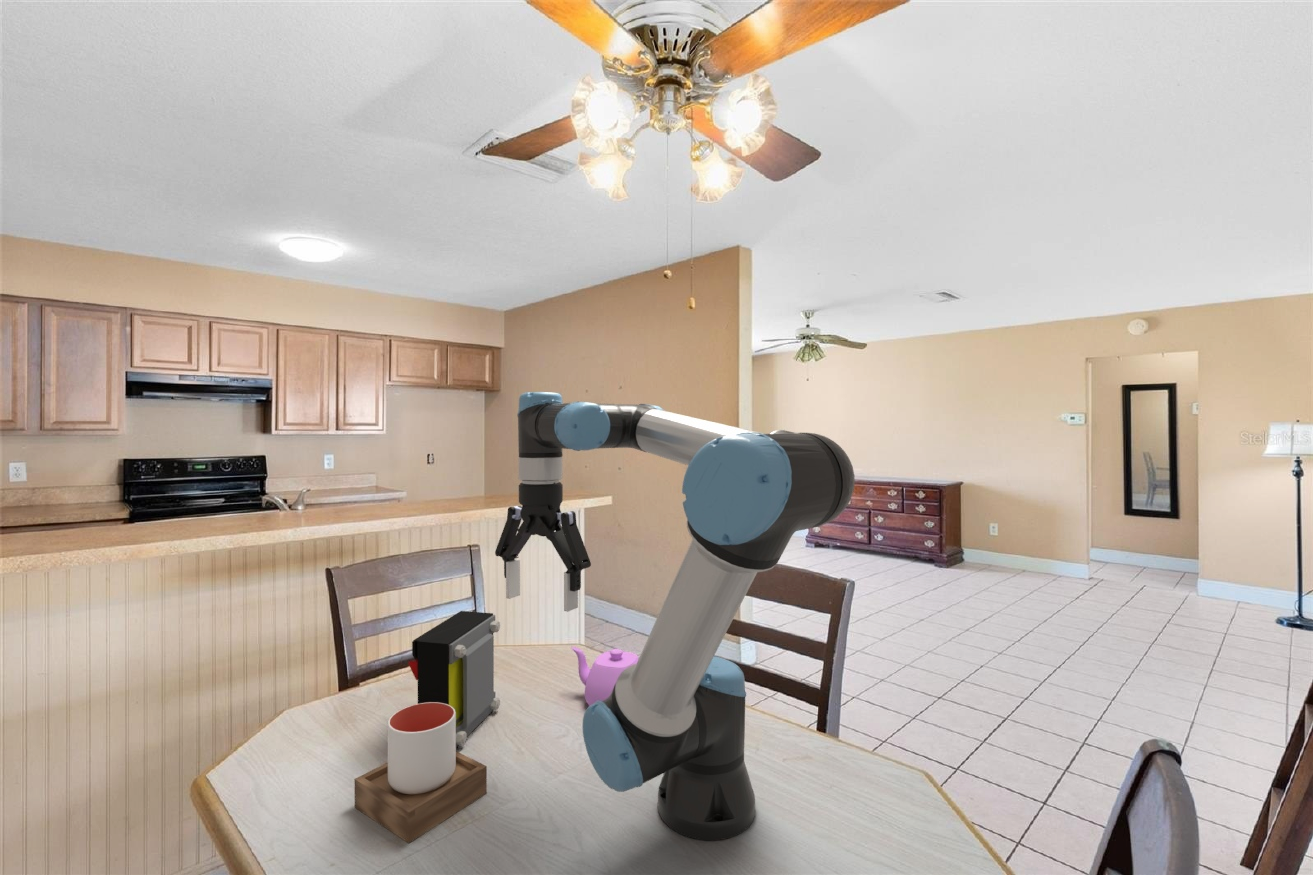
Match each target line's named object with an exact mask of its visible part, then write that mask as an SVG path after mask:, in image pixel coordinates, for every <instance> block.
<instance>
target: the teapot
mask: <svg viewBox="0 0 1313 875" xmlns="http://www.w3.org/2000/svg"><path fill="white" fill-rule="evenodd" d="M570 649H571V650H572V651H573V652H574V653H575V654H576V657H577V661H578V662H577V663H578V676H579V679H580V681H581V683H582V684H583V685H584V699H585V701H586V703H587V705H588V707H589V706H590V705H592V704H594V703H595V702H596V701H598V700H600V701H603V700H605V699H607V698H608V697H609V696H610V695H611V693H612V690H613V688H614V686H615V684H616V681H617V679H618V677H619V675H620V674H621V673H622V672H623V671H624V670H625V669H626V668H627V667H629V666H631V665H634V664H637V662H638V660H639V656H638V655H637V654H636V653H635V652H630V651H625V650H622V649H620V648H613V649H611V650H608V651H605V652H602V653H600V654H599V655H598V656H597V657H596V658H595V660H594V662H593V664H592V665H591V668H590V667H589V666H588V663H587V659H586V655H585V653H584V651H583V650H582V649H581V648H578V647H576V646H571V648H570Z"/></svg>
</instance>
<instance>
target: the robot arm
mask: <svg viewBox="0 0 1313 875" xmlns="http://www.w3.org/2000/svg"><path fill="white" fill-rule="evenodd" d="M517 425H518V426H517V429H518V431H517V433H518V436H517V438H518V440H517V442H518V480H519V481H521V483H519V484H518V503H519V504H520V505H514V506H509V507H508V508H507V513H506V514H507V518H506V521H505V524H504V526H503V529H502V532H501V533H500V534H501V535H500V537H499V541H498V543H497V545H496V548H495V552H494V554H495V556H496V557H500V558H502V561H503V563H504V564H503V569H504V570H503V572H504V573H503V576H504V578H505V589H506V590H505V594H506V595H505V597H506V598H505V599H510V600H511V599H513V598H517V597H519V596H521V559H518V558H519V554H520V553H521V552H522V550H523V548H525V546H526V544H527V542H528V541H529V539H530V538H531V536H536V535H538V536H539V537H546V539H547V540H549V541H550V543H551V544H552V546H553V548H554V549H555V551H556V552H557V554H558V556H559V557H560V559H561V561H562V563H563V565H564V566H565V568H566V571H564V572H563V612H566V613H567V612H570V611H573V610H576V609H578V608H579V590H581V587H582V582H581V580H582V574H581V573H582V571H583V570H585V569H587V568H590V567H591V566H592V563H591V560H590V557H589V554H588V552H587V549H586V546H585V543H584V541H583V539H582V538H583V537H582V535H581V532H580V530H579V528H578V524H577V514H576V512H575V511H574V510H571V511H566V512H562V511H561V505H562V503H563V500H564V498H563V496H564V494H563V492H564V491H563V484H562V482H561V481H560V480H562V479H563V449H564V450H573V451H574V452H575V451H577V452H579V451H590V450H591V451H592V450H596V449H598V450H599V449H615V448H619V449H623V448H625V449H626V448H629V449H635V450H638V451H641V452H644V453H647V454H651V455H654V456H656V457H657V456H658V457H660V458H664V459H667V460H670V461H673V462H676V463H680V464H683V465H686V466H687V468H686V471H685V474H684V477H683V481H682V488H681V493H682V494H683V495H684V496H685V500H683V501H682V506H683V511H684V514H685V516H686V519H687V520H686V528H687V531H688V533H689V536H690V537H691V541H690V543H689V546H688V548H687V550H686V553H685V554H684V557H683V559H682V561H681V564H680V566H679V568H678V570H677V573H676V574H675V577H674V579H673V582H672V584H671V586H670V587H669V588H670V589H669V590H668V593H667V595H666V597H665V600H664V601H663V604H662V606H661V609H659V610H660V611H659V613H658V616H657V617H656V620H655V621H654V624H653V626H652V628H651V631H650V633H649V634H648V637H647V640H646V642H645V644H644V645H643V646H644V647H643V649H642V651H641V653H640V656H638V658H639V660H638V662H637V664H634V665H631V666H629V667H627V668H626V669H625V670H624V671H623V672H622V673H621V674H620V675H619V677H618V679H617V681H616V684H615V686H614V688H613V690H612V693H611V695H610V696H609V697H608V698H607V699H605V700H603V701H600V700H598V701H596V702H595V703H594V704H592V705H590V706H589V705H588V707H587V708H586V709H585V712H584V714H583V718H582V738H583V743H584V746H585V750H586V753H587V757H588V758H589V761H590V763H591V765H592V767H593V769H594V771H595V773H596V774H597V776H598V777H599V778H600V780H601V781H602V782H603V783H604V785H606V786H607V787H608V788H610V789H612V790H614V791H615V792H619V793H624V792H627V791H630V790H632V789H636V788H640V787H642V786H643V784H645V783H647V782H649V781H650V780H653V779H655V778H657V777H659V776H660V775H661V776H662V777H661V781H660V783H659V787H658V791H657V811H658V814H659V816H660V818H661V820H662V821H663V822H664V823H665V824H666V825H667V826H668V827H669V828H670V829H672V830H673V831H674V832H677V833H678V834H681V835H682V836H686V837H689V838H692V839H696V840H704V841H719V840H725V839H730V838H733V837H736V836H737V835H740V834H741V833H743V832H744V831H746V830H747V829H748V828H749V827H750V826H751V824H752V823H753V821H754V819H755V816H756V815H755V814H756V797H755V796H756V795H755V792H754V789H753V786H752V781H751V778H750V775H749V772H748V769H747V766H746V763H745V740H746V739H745V736H746V734H745V733H746V732H745V727H746V726H745V725H746V697H747V692H746V686H745V685H746V682H745V681H746V680H745V675H744V672H743V670H742V669H741V668H740V666H738V665H737V664H736V663H735V662H733V661H731V660H728V659H725V658H723V657H719V656H716V653H717V651H718V649H719V647H720V645H721V643H722V641H723V640H724V638H725V636H726V633H727V631H728V629H729V628H730V626H731V624H732V622H733V620H734V618H735V616H736V615H737V613H738V611H739V609H740V607H741V604H742V602H743V601H744V599H745V597H746V596H747V593H748V592H749V589H750V587H751V586H752V583H753V582H754V580H755V577H756V576H757V574H758V573H762V572H768V571H771V570H772V569H774V567H776V565H777V564H778V563H779V561H780V559H781V557H782V555H783V554H784V551H786V550H785V549H786V548H787V546H788V544H789V542H790V540H791V538H792V537H793V536H794V534H795V533H796V532H799V531H803V530H808V529H813V528H818V527H822V526H824V525H826V524H829V523H831V522H832V521H834V520H835V519H837V518H838V517H839V516H840V515H841V514H842V513H843V512H844V511H845V510H846V508H847V506H848V505H849V503H850V502H851V500H852V496H853V493H854V490H855V484H856V483H855V472H854V468H853V464H852V462H851V460H850V457H849V456H848V454H847V453H846V451H845V450H844V449H843V447H841V446H840V445H839V444H838V443H837V442H835V441H834V440H832V439H831V438H829V437H827V436H825V435H821V434H819V433H815V432H814V433H813V432H795V431H794V432H793V431H788V430H785V429H784V430H783V429H777V430H774V431H772V432H771V433H763V432H760V431H755V430H750V429H746V428H741V427H737V426H733V425H727V424H726V423H725V424H724V423H720V422H715V421H711V420H705V419H702V418H698V417H693V416H689V415H684V414H679V413H675V412H671V411H667V410H664V409H663V408H662V407H661V406H658V405H654V404H653V405H652V404H648V403H647V404H646V403H638V404H621V403H619V404H615V403H597V402H596V403H595V402H594V403H593V402H590V401H574V402H566V403H563V397H562V395H561V394H560V393H558V392H547V391H546V392H545V391H535V392H534V391H533V392H529V391H528V392H523V393H521V394H520V396H519V397H518V412H517Z"/></svg>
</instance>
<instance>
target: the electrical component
mask: <svg viewBox="0 0 1313 875" xmlns="http://www.w3.org/2000/svg"><path fill="white" fill-rule="evenodd" d="M500 629H501V622H500V621H498V620H496V615H495V614H494V612H493V613H492V612H479V611H478V612H477V611H467V610H460V611H458V612H457V613H456V614H453V615H452V616H451V617H449V618H447V619H446V620H444V621H442V622H440V623H439V624H437V625H436V626H434V627H432V628H431V629H430V630H428V631H426V632H424V633H423V634H421V635H420V636H418V637H416V638H414V639H413V640H412V641H411V651H412V652H411V655H412V657H413V659H414V660H409V661H408V666H409V668H410V671H411V672H412V674H413V677H414V679H415V680H416V681H417V704H420V703H429V702H437V703H444V704H447V705H450V706H452V707H453V708H454V709H455V712H456V748H458V747H459V746H463V745H465V743H466V741H467V738H468V737H469V736H470V734H471V733H473V731H474V730H475V729H476V728H478V726H479V725H480V724H481V723H482V722H483V721H484V720H485V719H486V718H487V717H488V716H489V715H490V714H491V713H492V712H493V711H498V710H499V708H500V706H501V699H500V698H499V697H496V691H495V690H494V688H495V687H494V685H495V682H494V678H495V676H494V675H495V674H494V667H495V666H494V664H495V663H494V660H495V659H494V658H495V657H494V655H495V654H494V653H495V652H494V648H495V647H494V645H495V644H494V643H495V642H494V640H495V639H494V637H495V636H494V633H498V632H499V631H500Z"/></svg>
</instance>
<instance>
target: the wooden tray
mask: <svg viewBox="0 0 1313 875" xmlns="http://www.w3.org/2000/svg"><path fill="white" fill-rule="evenodd" d="M487 776H488V775H487V765H485V764H483V763H482V762H479V761H477V760H475V759H472V758H471V757H469V756H467V755H465V754H463V753H461V752H458V751H457V750H456V767H455V771H454V773H453V775H452V777H451V778H450V779H449V780H448V781H447V782H446V783H445V784H443V785H442V786H440V787H439V788H437V789H435V790H432V791H429V792H426V793H421V794H403V793H400V792H397V791H396V790H394V789H393V788H392V787H391V786H390V784H389V782H388V761H387V762H385V763H383V764H382V765H380V766H377V767H376V768H374V769H372V770H370V771H367V772H366V773H363V774H362V775H360V776H358V777H356V778H354V808H355V809H357V810H358V811H360V812H361V813H362V814H364V815H366V816H367V817H368V818H370V819H372V820H373V821H375V822H376V823H378V824H379V825H380V826H382V827H384V828H385V829H386V830H388V831H389V832H391V833H393V834H394V835H396V836H397V837H399V838H400V839H402V840H403V841H404V842H406V843H408V844H410V843H412V842H413V841H415V840H416V839H418V838H419V837H421V836H423V835H424V834H425V833H427V832H429V831H430V830H432V829H434V828H435V827H436V826H438V825H440V824H441V823H443V822H444V821H446V820H447V819H449V818H451V817H452V816H454V815H456V814H457V813H459V812H460V811H461V810H463V809H464V808H466V807H467V806H469V805H471V804H472V803H474V802H476V801H477V800H479V799H481V798H482V797H483V796H485V795H487V793H488V792H487V791H488V790H487V786H488V785H487V782H488V781H487V780H488V779H487Z"/></svg>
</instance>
